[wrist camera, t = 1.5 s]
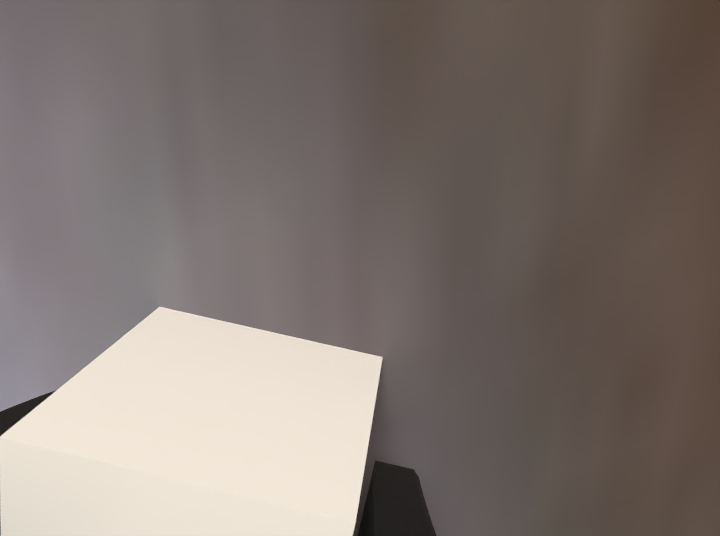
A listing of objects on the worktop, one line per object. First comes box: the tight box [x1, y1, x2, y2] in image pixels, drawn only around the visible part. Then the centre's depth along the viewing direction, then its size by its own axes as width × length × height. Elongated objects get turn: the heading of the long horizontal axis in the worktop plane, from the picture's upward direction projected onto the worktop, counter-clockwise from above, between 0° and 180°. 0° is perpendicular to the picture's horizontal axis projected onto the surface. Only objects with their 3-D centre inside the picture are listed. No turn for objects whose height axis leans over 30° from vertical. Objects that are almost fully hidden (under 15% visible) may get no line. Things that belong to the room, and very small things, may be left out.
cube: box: [0, 307, 383, 536], centre depth 9 cm, size 4×4×4 cm
